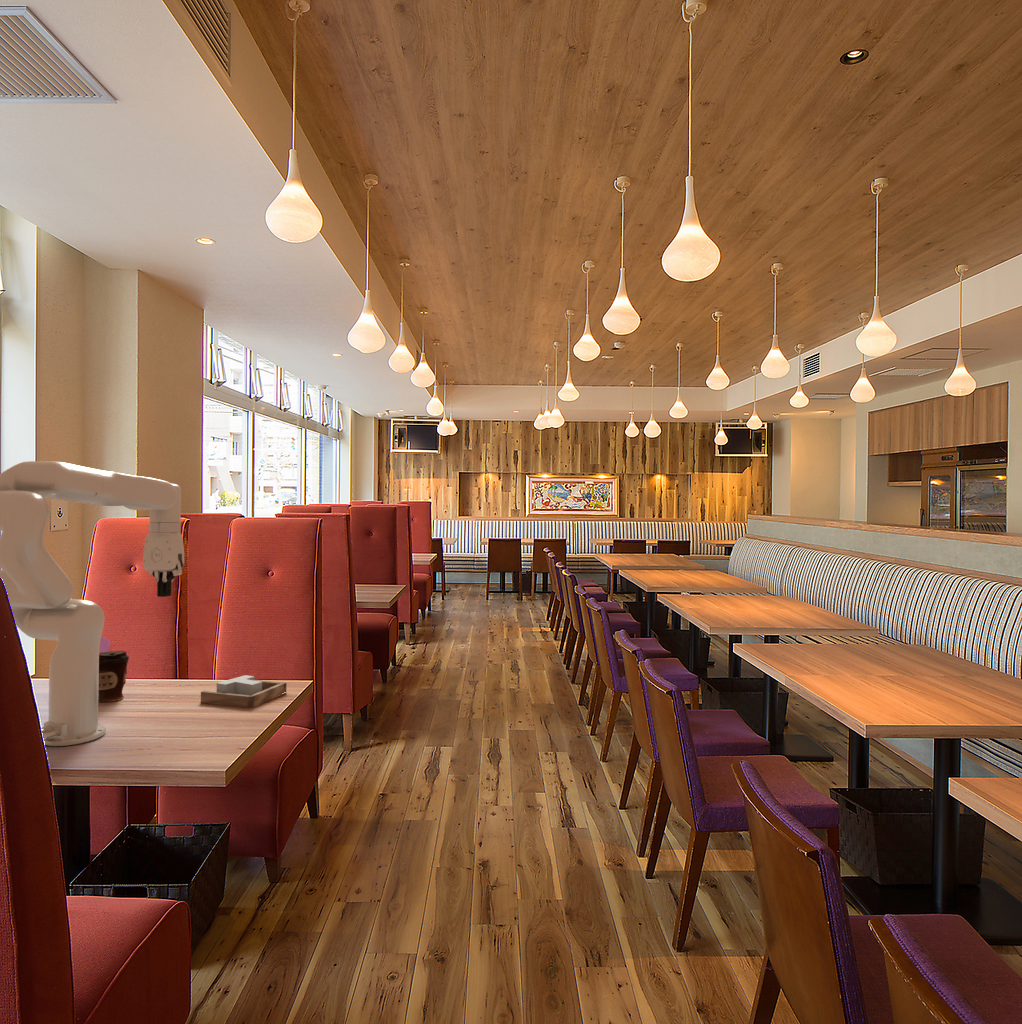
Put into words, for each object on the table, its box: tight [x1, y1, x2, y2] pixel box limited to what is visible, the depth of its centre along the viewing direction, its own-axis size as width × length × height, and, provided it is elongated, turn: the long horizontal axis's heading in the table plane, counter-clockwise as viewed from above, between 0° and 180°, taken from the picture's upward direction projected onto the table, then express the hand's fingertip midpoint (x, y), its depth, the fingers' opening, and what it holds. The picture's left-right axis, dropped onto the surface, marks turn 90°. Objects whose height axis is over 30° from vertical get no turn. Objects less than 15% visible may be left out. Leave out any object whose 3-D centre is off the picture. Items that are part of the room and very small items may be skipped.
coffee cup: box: [98, 650, 130, 703], centre depth 180 cm, size 9×8×13 cm
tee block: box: [216, 674, 262, 695], centre depth 182 cm, size 10×10×5 cm
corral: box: [200, 679, 287, 709], centre depth 183 cm, size 15×16×3 cm
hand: (164, 596), depth 177 cm, fingers closed
